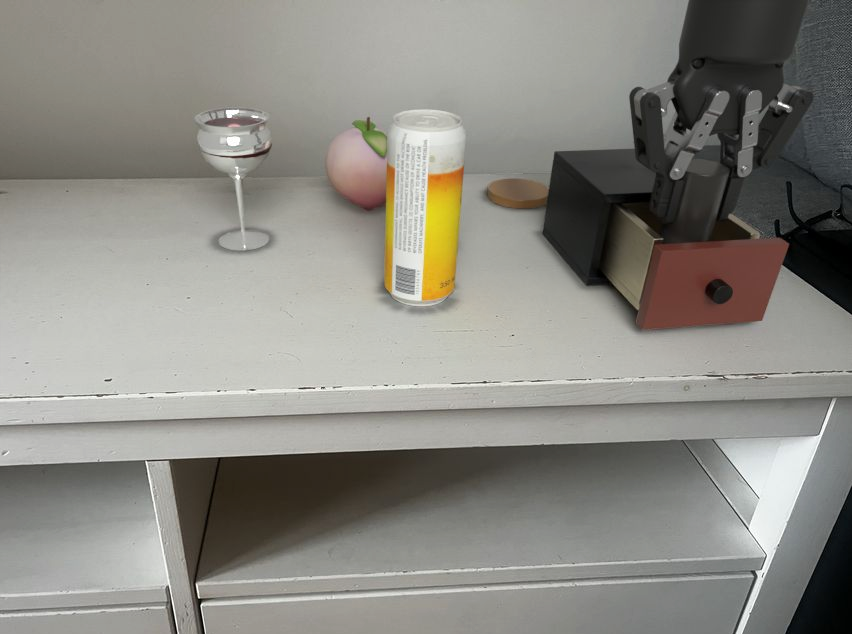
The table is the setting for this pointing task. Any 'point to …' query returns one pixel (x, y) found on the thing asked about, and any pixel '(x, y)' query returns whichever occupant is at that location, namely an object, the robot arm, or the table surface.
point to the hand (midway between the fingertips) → (689, 218)
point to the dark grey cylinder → (697, 203)
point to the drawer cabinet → (590, 203)
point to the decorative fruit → (359, 164)
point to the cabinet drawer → (689, 270)
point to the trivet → (518, 193)
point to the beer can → (423, 205)
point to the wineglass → (235, 158)
